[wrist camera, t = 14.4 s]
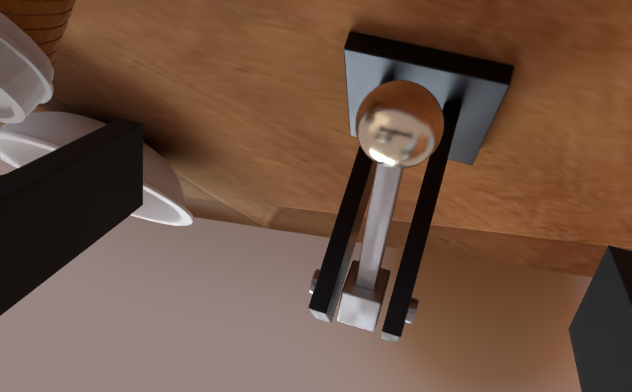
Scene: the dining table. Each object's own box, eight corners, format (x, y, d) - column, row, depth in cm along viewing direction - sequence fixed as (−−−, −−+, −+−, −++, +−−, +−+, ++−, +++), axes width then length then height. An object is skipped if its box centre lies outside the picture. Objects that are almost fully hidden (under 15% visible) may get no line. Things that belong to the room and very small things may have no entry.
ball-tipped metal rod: (372, 55, 23) (349, 101, 20) (459, 74, 22) (446, 124, 20) (339, 277, 33) (322, 325, 31) (397, 294, 33) (383, 345, 30)
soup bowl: (-37, 43, 51) (-73, 104, 49) (209, 131, 52) (184, 194, 50) (46, 135, 74) (24, 179, 72) (215, 194, 75) (198, 239, 73)
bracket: (349, 30, 30) (260, 286, 26) (514, 65, 28) (448, 345, 24) (354, 121, 40) (291, 314, 36) (475, 150, 39) (424, 357, 35)
